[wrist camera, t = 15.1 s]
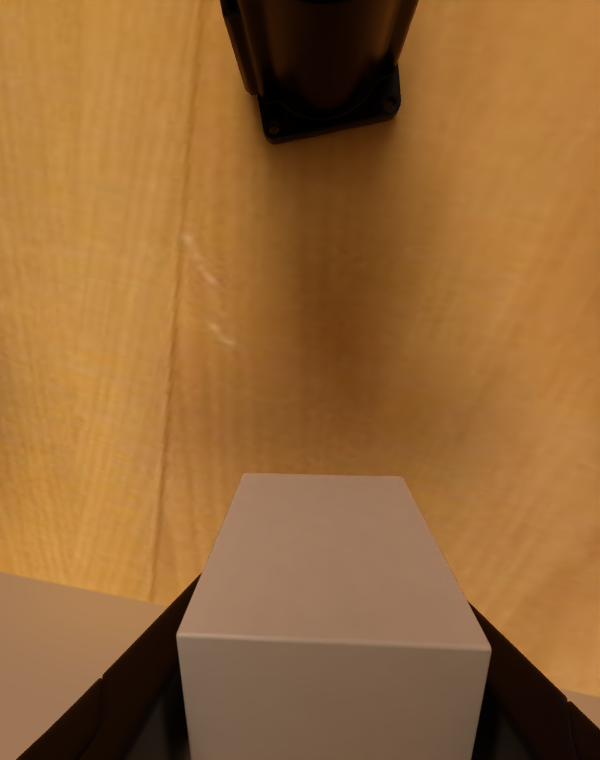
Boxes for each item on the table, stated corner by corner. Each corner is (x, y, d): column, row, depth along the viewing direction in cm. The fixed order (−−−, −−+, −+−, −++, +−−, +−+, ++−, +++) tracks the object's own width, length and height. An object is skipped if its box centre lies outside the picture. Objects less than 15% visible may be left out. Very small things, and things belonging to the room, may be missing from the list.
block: (402, 475, 8) (494, 648, 4) (391, 604, 9) (456, 849, 5) (243, 471, 9) (173, 634, 4) (249, 599, 10) (198, 832, 5)
